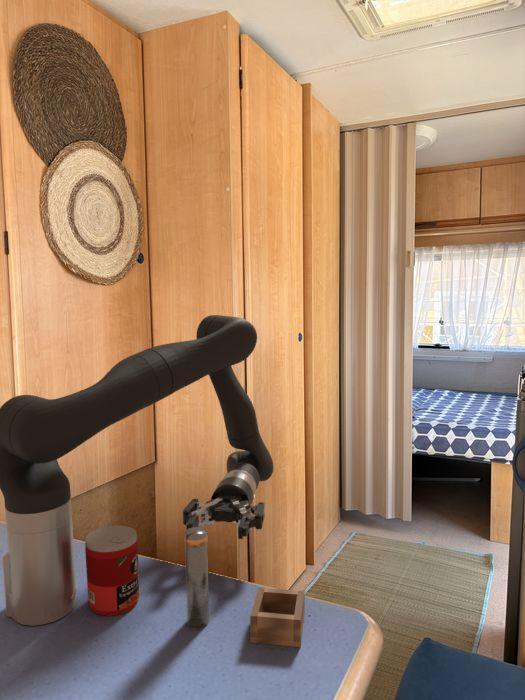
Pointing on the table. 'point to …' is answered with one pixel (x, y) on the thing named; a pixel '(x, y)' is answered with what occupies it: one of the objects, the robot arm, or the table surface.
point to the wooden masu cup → (278, 617)
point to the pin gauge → (197, 577)
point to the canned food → (112, 569)
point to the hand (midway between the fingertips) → (215, 532)
